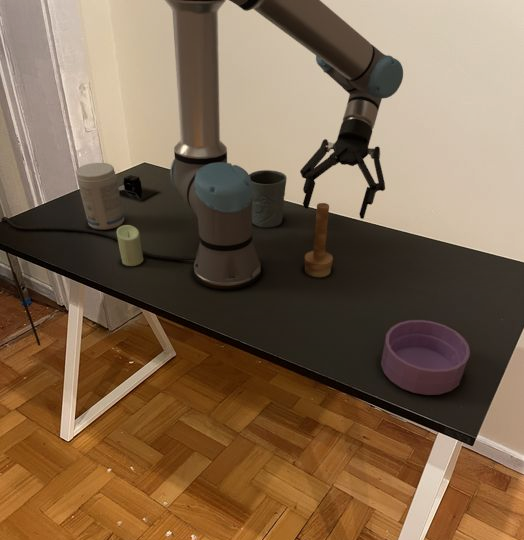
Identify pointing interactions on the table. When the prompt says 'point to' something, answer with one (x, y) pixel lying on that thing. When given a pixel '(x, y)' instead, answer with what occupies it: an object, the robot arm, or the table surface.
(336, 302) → the table surface
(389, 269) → the table surface
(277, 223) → the grey green cup
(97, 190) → the supplement tub
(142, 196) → the black stepped block
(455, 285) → the table surface
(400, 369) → the lilac bowl
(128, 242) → the candle
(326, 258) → the dish brush
